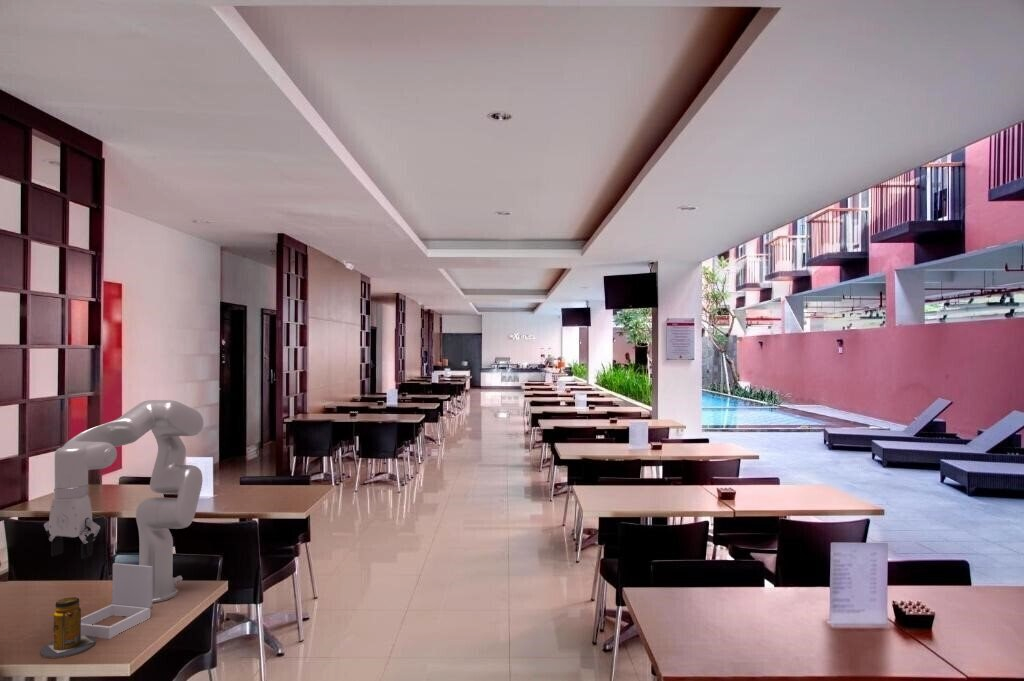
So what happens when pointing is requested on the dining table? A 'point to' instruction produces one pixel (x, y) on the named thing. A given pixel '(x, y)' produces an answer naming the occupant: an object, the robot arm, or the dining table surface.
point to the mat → (49, 652)
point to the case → (123, 601)
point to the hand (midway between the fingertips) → (72, 555)
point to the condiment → (68, 626)
